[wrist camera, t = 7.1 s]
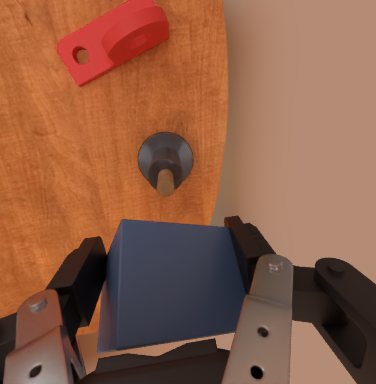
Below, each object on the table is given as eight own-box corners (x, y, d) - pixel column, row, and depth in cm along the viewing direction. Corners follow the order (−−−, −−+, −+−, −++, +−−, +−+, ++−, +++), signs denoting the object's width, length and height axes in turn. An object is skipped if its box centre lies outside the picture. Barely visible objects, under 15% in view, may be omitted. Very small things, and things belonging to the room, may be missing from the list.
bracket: (149, -6, 24) (141, -56, 17) (168, 38, 26) (169, 10, 19) (57, 47, 25) (12, 22, 18) (81, 86, 27) (49, 78, 20)
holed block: (232, 226, 11) (259, 328, 9) (188, 261, 15) (198, 337, 13) (121, 218, 9) (115, 351, 7) (104, 261, 13) (96, 353, 11)
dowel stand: (189, 128, 30) (202, 140, 19) (195, 180, 33) (210, 218, 22) (133, 135, 30) (113, 153, 18) (144, 188, 32) (132, 230, 21)
